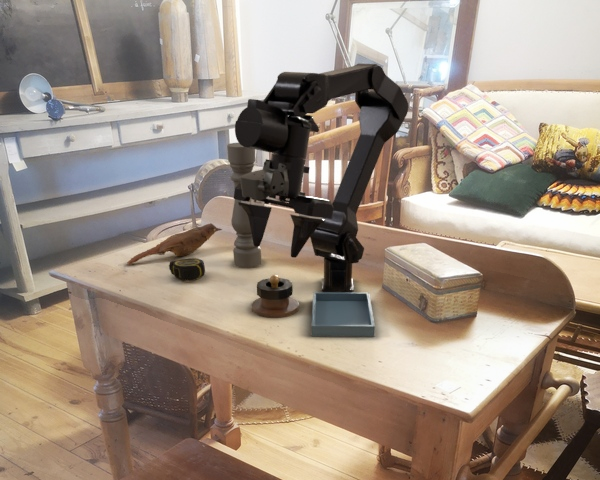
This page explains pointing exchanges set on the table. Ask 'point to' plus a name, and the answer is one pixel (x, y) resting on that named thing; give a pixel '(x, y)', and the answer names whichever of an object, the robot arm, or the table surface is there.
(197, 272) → the tape measure
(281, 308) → the wooden peg stand
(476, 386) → the table surface
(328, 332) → the tray
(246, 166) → the candle holder
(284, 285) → the ring
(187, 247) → the bird sculpture
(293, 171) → the robot arm
